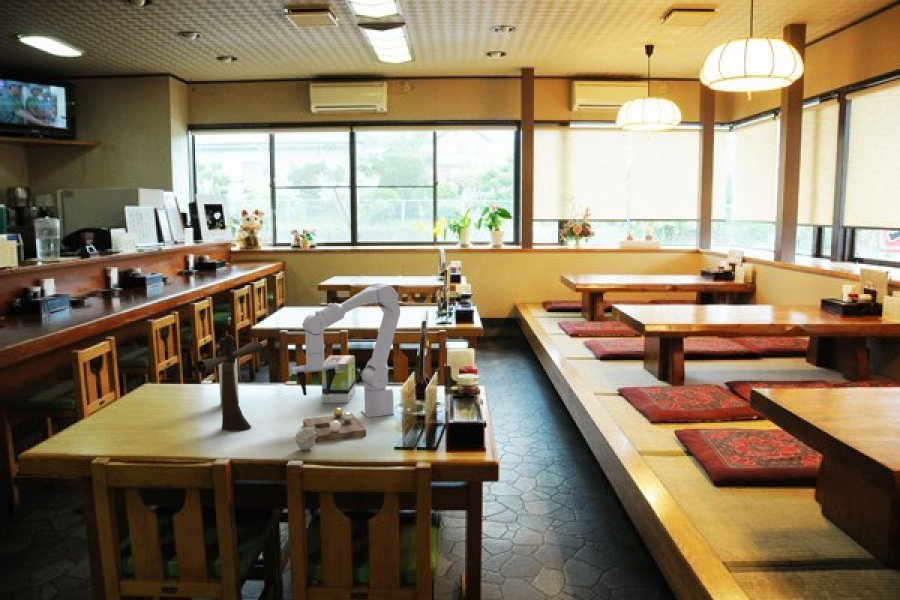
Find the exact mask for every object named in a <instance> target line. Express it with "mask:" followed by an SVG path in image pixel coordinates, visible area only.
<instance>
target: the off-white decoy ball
mask: <svg viewBox="0 0 900 600" xmlns="http://www.w3.org/2000/svg"><path fill="white" fill-rule="evenodd" d="M340 428H341V424H340V422H339V421H336V420H335V421H332V422H331V423H330V429H331V430H332V431H333V432H337V431H339V430H340Z"/></svg>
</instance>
